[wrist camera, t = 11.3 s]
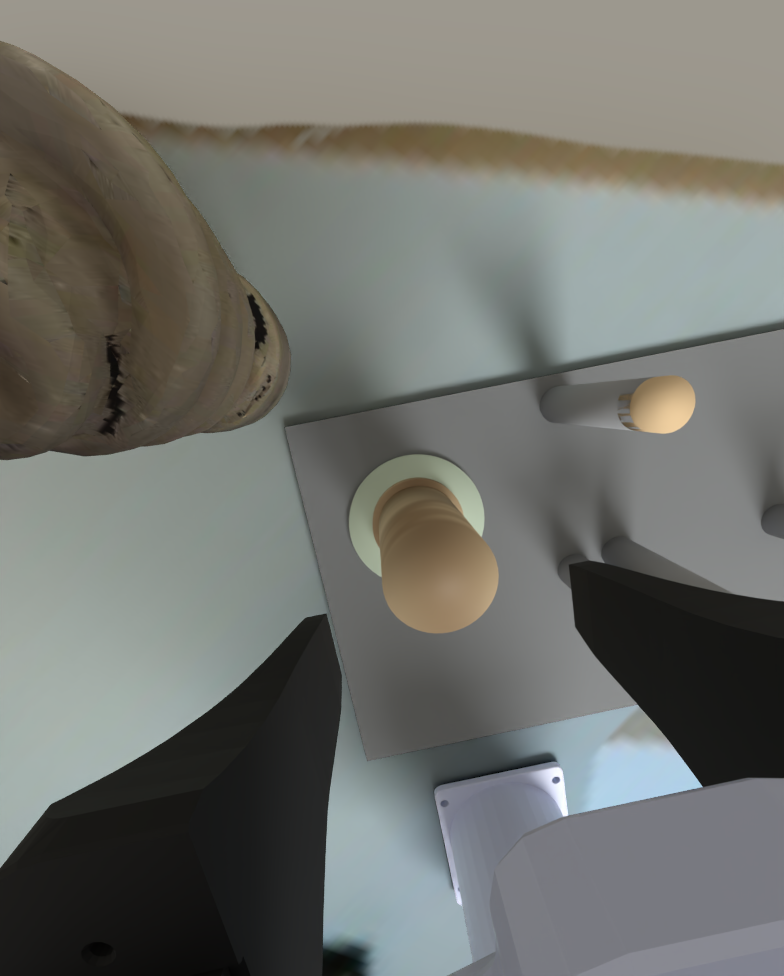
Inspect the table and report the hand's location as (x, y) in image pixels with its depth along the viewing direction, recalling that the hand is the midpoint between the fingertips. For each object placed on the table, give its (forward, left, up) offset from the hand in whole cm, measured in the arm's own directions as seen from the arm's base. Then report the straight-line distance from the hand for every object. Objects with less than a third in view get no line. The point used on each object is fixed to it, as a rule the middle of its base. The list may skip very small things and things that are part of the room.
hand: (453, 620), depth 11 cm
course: (-4, -8, -10) cm, 13 cm away
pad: (0, 0, -10) cm, 10 cm away
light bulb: (+9, +6, -10) cm, 15 cm away
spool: (0, 0, -9) cm, 9 cm away
